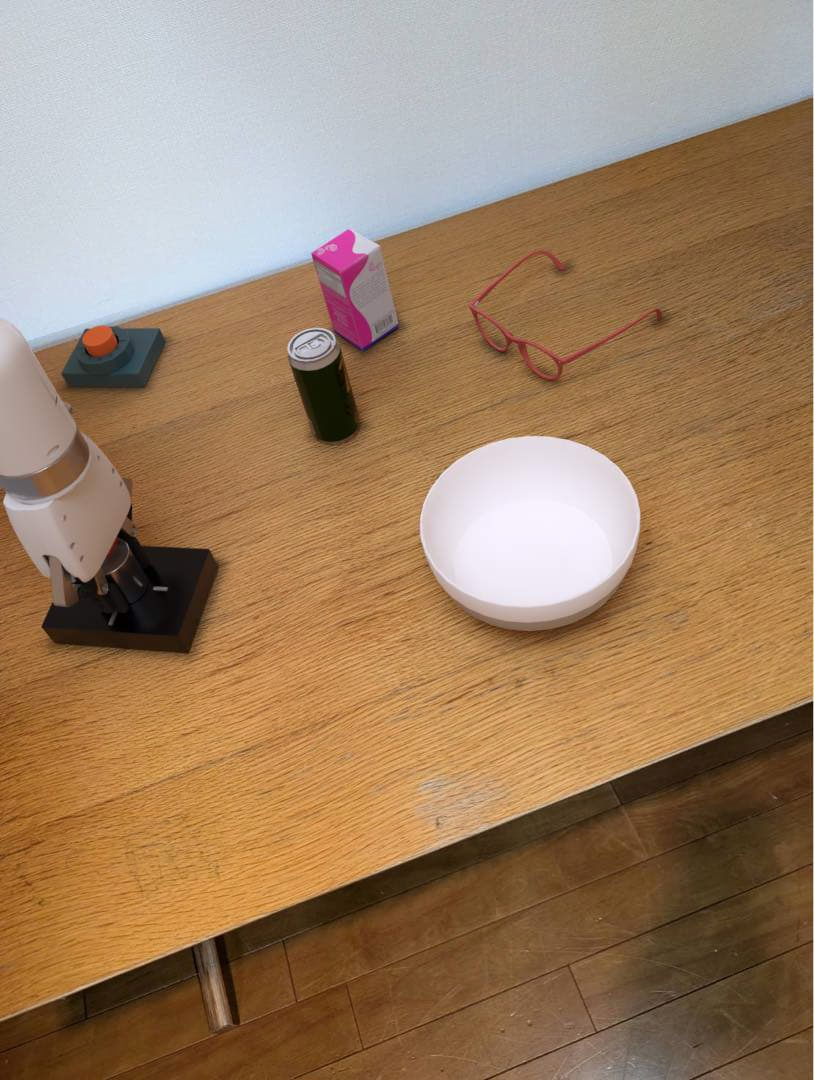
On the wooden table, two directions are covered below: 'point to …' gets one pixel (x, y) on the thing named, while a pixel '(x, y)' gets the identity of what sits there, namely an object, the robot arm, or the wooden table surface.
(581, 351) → the red eyeglasses
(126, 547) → the dark cylinder with disc
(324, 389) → the beer can
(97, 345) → the button
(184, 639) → the knob panel
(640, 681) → the wooden table surface
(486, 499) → the bowl
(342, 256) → the supplement box
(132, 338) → the button block
